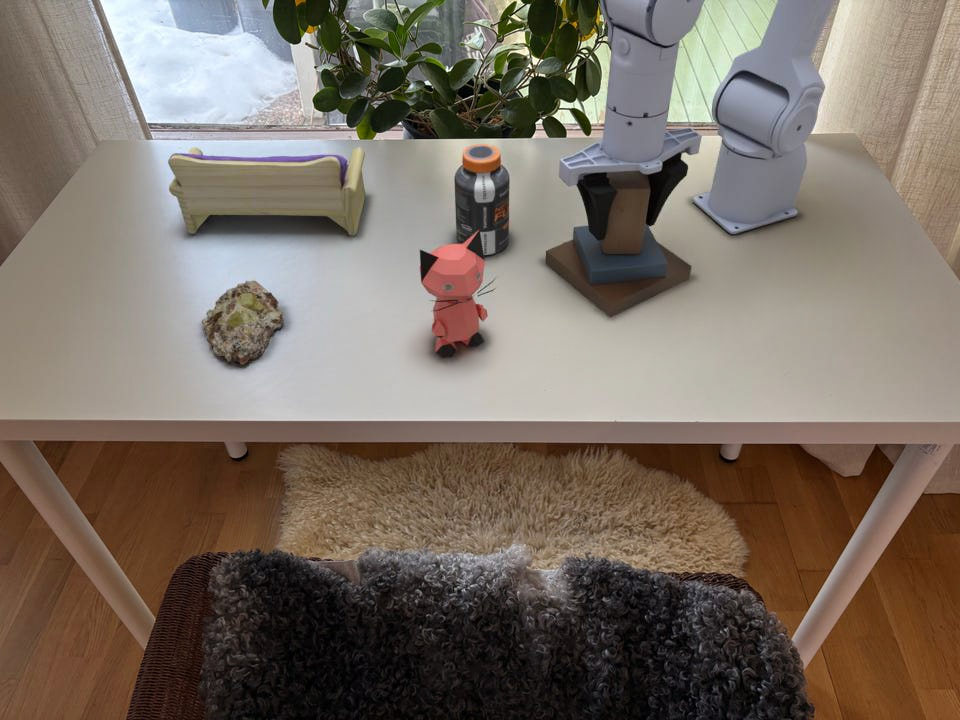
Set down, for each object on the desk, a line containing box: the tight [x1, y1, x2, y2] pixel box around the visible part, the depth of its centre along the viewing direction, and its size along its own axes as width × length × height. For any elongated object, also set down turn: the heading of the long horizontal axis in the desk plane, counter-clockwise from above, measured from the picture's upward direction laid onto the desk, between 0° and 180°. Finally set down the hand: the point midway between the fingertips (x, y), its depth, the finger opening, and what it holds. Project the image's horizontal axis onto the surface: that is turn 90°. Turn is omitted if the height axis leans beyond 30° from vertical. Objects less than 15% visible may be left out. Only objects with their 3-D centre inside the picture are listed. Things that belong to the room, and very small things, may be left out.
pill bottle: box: [453, 143, 511, 256], centre depth 84 cm, size 6×6×11 cm
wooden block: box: [601, 171, 650, 254], centre depth 79 cm, size 4×4×8 cm
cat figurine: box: [419, 230, 498, 359], centre depth 72 cm, size 7×7×12 cm
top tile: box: [572, 223, 668, 285], centre depth 82 cm, size 8×8×2 cm
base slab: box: [544, 239, 692, 318], centre depth 83 cm, size 11×11×2 cm
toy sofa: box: [167, 146, 366, 237], centre depth 89 cm, size 21×9×10 cm, turn 88°
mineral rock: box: [201, 280, 285, 366], centre depth 77 cm, size 11×4×8 cm
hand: (621, 227), depth 80 cm, fingers open, 5 cm apart
